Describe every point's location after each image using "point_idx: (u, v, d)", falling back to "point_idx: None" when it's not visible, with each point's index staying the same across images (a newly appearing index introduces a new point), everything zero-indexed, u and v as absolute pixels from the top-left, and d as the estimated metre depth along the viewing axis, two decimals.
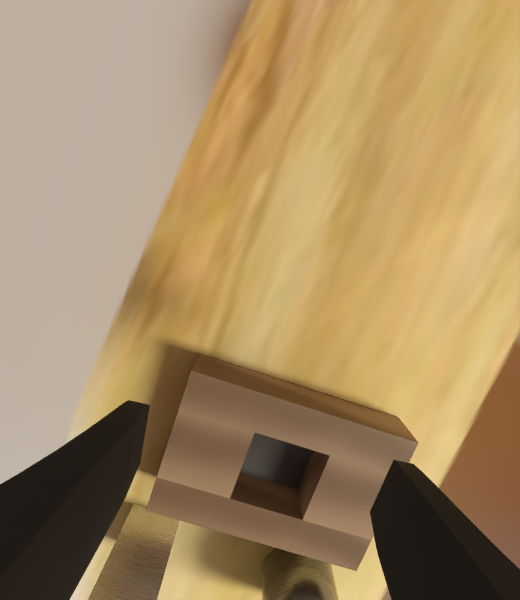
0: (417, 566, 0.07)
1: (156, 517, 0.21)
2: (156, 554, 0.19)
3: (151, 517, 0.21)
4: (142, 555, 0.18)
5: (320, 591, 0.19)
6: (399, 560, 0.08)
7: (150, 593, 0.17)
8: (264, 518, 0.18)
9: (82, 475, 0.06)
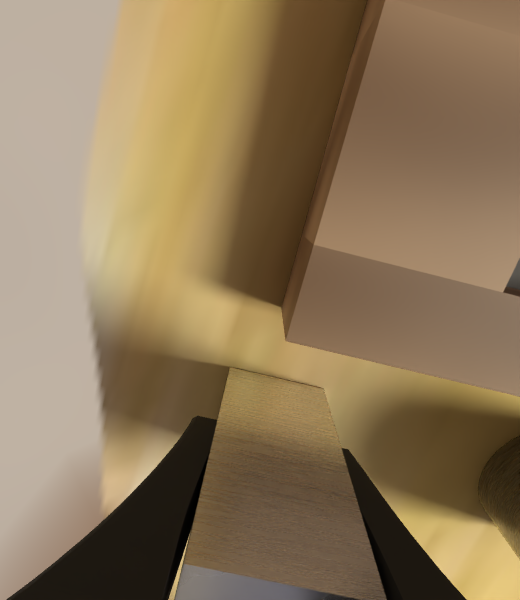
0: None
1: (281, 387, 0.10)
2: (313, 444, 0.08)
3: (272, 387, 0.10)
4: (285, 445, 0.08)
5: None
6: None
7: (345, 524, 0.06)
8: None
9: (188, 497, 0.06)
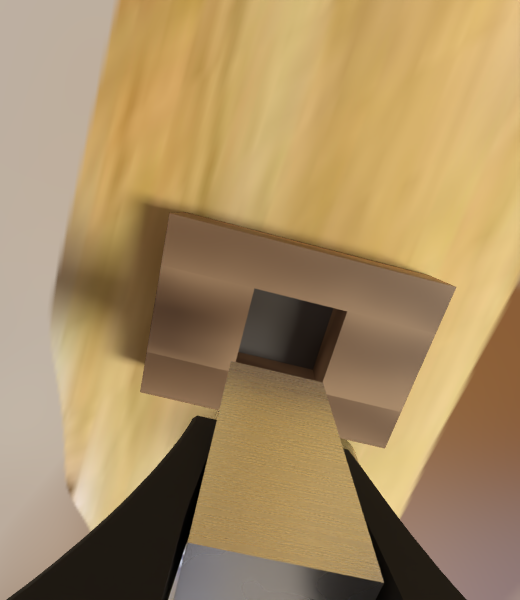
0: None
1: (281, 380, 0.10)
2: (312, 434, 0.08)
3: (272, 380, 0.10)
4: (285, 434, 0.08)
5: None
6: None
7: (343, 509, 0.06)
8: None
9: (188, 497, 0.06)
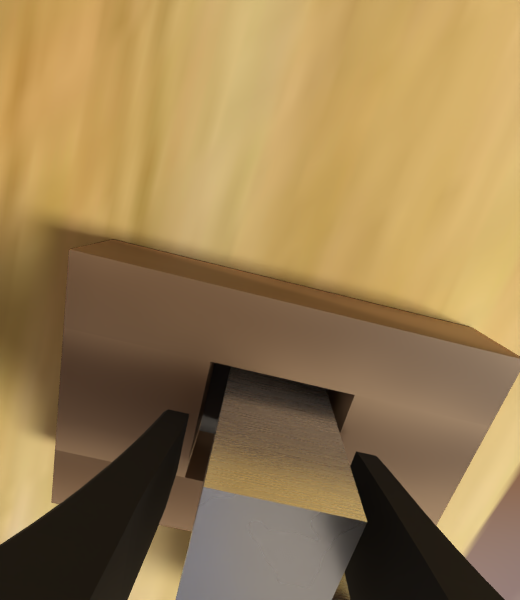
0: (371, 556, 0.07)
1: None
2: (308, 410, 0.09)
3: None
4: (284, 409, 0.09)
5: None
6: (356, 551, 0.08)
7: (335, 467, 0.07)
8: None
9: (143, 488, 0.06)
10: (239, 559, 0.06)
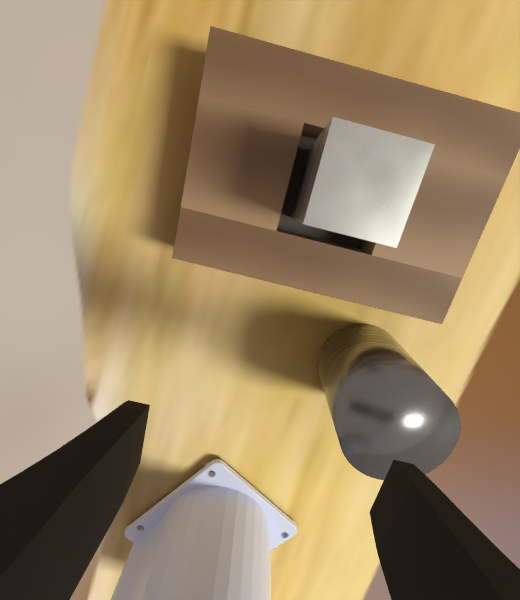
0: (417, 566, 0.07)
1: None
2: None
3: None
4: None
5: (397, 349, 0.15)
6: (399, 560, 0.08)
7: None
8: (322, 257, 0.14)
9: (82, 475, 0.06)
10: (349, 182, 0.10)
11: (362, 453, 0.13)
